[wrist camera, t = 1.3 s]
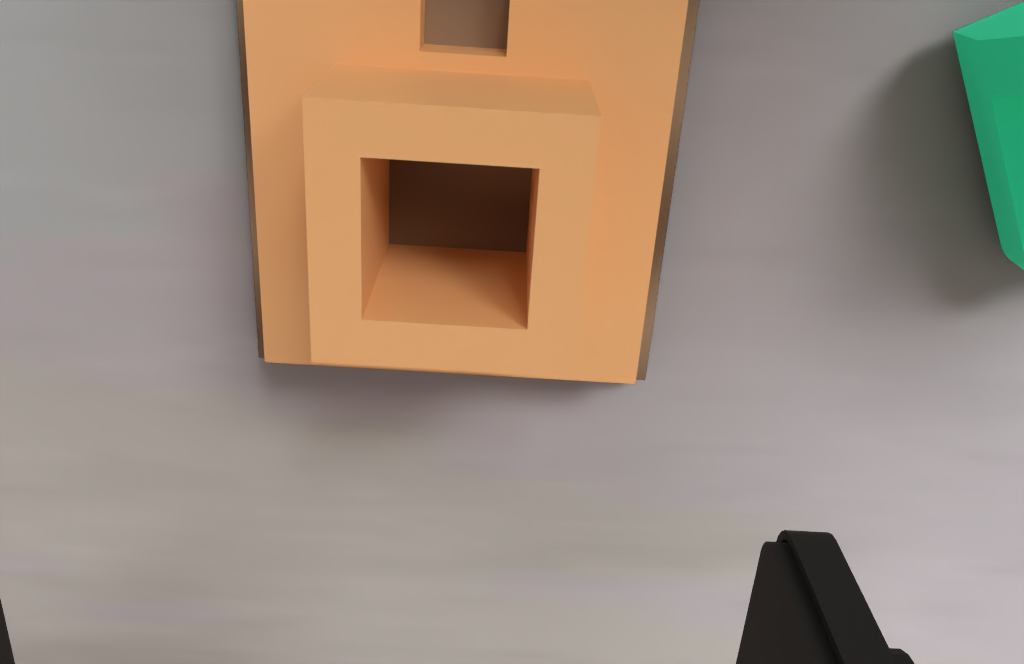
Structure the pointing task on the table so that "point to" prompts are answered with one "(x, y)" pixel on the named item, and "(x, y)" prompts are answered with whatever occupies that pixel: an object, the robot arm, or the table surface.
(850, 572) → the robot arm
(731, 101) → the table surface
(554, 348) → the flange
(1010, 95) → the camera mount
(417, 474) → the table surface
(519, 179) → the board
